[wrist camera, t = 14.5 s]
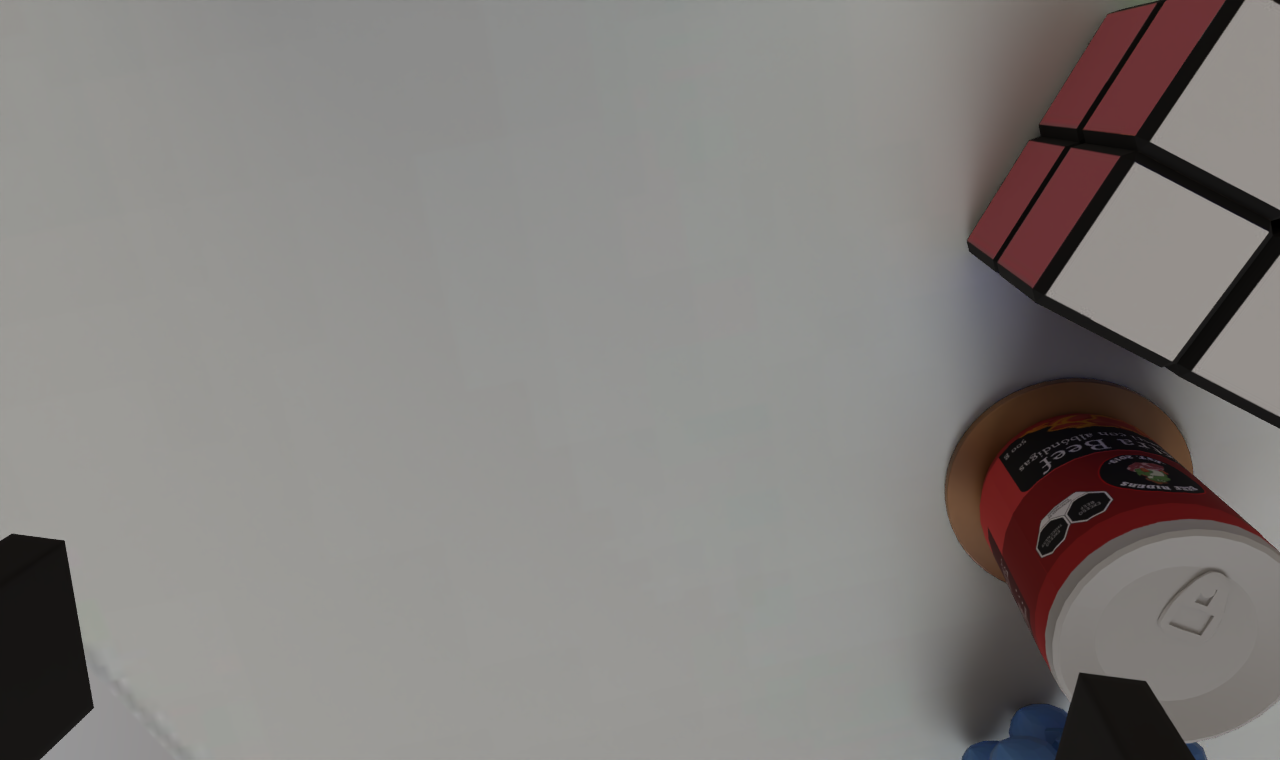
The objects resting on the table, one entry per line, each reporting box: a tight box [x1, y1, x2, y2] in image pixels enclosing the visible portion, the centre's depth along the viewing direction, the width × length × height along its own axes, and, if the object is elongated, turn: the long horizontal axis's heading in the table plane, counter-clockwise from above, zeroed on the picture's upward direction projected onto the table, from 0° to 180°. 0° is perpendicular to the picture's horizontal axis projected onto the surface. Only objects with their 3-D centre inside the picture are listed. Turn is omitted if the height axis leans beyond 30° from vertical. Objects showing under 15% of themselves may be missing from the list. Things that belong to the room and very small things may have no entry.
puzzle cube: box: [967, 0, 1280, 428], centre depth 30 cm, size 10×10×10 cm
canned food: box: [980, 413, 1280, 743], centre depth 33 cm, size 8×8×11 cm
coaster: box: [945, 378, 1193, 583], centre depth 38 cm, size 10×10×1 cm
